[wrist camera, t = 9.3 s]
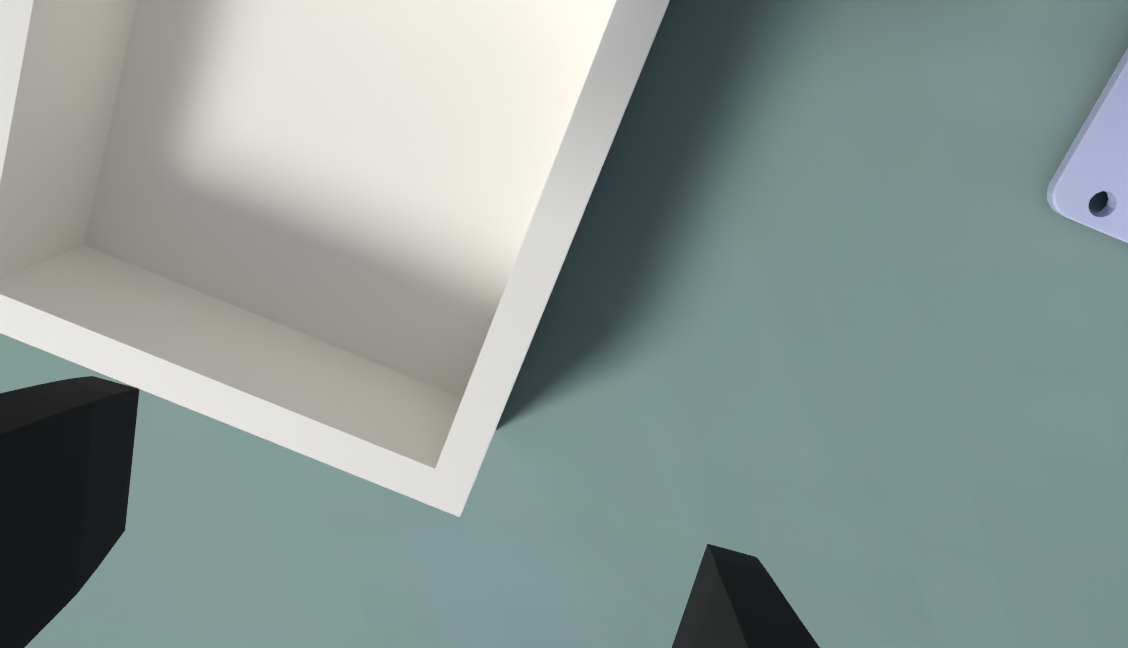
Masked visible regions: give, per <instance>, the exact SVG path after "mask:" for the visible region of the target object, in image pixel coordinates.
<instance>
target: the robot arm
mask: <svg viewBox="0 0 1128 648" xmlns="http://www.w3.org/2000/svg"><path fill="white" fill-rule="evenodd" d="M1101 191H1105V192H1107V196H1108V201H1107V205H1106V206H1105V207H1104V208H1103V209H1102V210H1101V211H1099V212H1096V213H1090V211H1089V207H1088V205H1089V201H1090V199H1091V198H1092V197H1093V196H1094V195H1095V194H1096V193H1099V192H1101ZM1047 201H1048V203H1049V205H1050V206H1051V208H1052V209H1053V210H1054V211H1056V212H1057V213H1059V214H1060V215H1062V216H1064V217H1066V218H1069V219H1071V220H1074V221H1076V222H1078V223H1081V224H1083V225H1086V226H1088V227H1090V228H1093V229H1095V230H1098V231H1100V232H1102V233H1105V234H1107V235H1110V236H1112V237H1114V238H1117V239H1119V240H1122V241H1124V242H1127V243H1128V48H1127V50H1126V51H1125V53H1124V55H1123V57H1122V58H1121V60H1120V62H1119V63H1118V65H1117V67H1116V69H1115V70H1114V72H1113V74H1112V76H1111V77H1110V79H1109V81H1108V83H1107V84H1106V86H1105V88H1104V89H1103V91H1102V93H1101V95H1100V96H1099V98H1098V100H1097V102H1096V103H1095V105H1094V107H1093V109H1092V110H1091V112H1090V114H1089V115H1088V117H1087V119H1086V121H1085V122H1084V124H1083V126H1082V128H1081V129H1080V131H1079V133H1078V135H1077V136H1076V138H1075V140H1074V141H1073V143H1072V145H1071V147H1070V148H1069V150H1068V152H1067V154H1066V155H1065V157H1064V159H1063V161H1062V162H1061V164H1060V166H1059V167H1058V169H1057V171H1056V173H1055V174H1054V176H1053V178H1052V180H1051V181H1050V184H1049V186H1048V189H1047ZM138 397H139V389H137V388H134V387H130V386H126V385H123V384H119V383H115V382H112V381H108V380H104V379H101V378H97V377H93V376H90V377H81V378H73V379H67V380H61V381H56V382H50V383H46V384H41V385H36V386H31V387H27V388H22V389H18V390H14V391H9V392H5V393H0V648H24V647H25V646H26V645H27V644H28V643H29V642H30V641H31V640H32V639H33V638H34V637H35V636H36V635H37V634H38V633H39V632H40V631H41V630H42V629H43V628H44V627H45V626H46V625H47V624H48V623H49V622H50V621H51V620H52V619H53V618H54V617H55V616H56V615H57V614H58V613H59V612H60V611H61V610H62V609H63V608H64V607H65V606H66V605H67V604H68V603H69V602H70V601H71V599H72V598H73V597H74V596H75V595H76V594H77V593H78V592H79V591H80V589H81V588H82V587H83V585H84V584H85V583H86V582H87V580H88V579H89V578H90V577H91V575H92V574H93V573H94V571H95V570H96V569H97V568H98V566H99V565H100V564H101V562H102V561H103V560H104V558H105V557H106V555H107V554H108V553H109V551H110V550H111V549H112V547H113V546H114V544H115V543H116V542H117V540H118V539H119V538H120V536H121V535H122V533H123V532H124V531H125V524H126V515H127V505H128V495H129V485H130V475H131V465H132V456H133V446H134V436H135V426H136V416H137V407H138ZM672 648H820V647H819V646H818V645H817V643H816V642H815V640H814V639H813V638H812V636H811V635H810V633H809V632H808V630H807V629H806V628H805V626H804V625H803V623H802V622H801V620H800V619H799V617H798V616H797V615H796V613H795V612H794V610H793V609H792V607H791V606H790V604H789V603H788V601H787V600H786V598H785V597H784V595H783V594H782V593H781V591H780V590H779V588H778V587H777V585H776V584H775V582H774V581H773V579H772V578H771V576H770V575H769V573H768V572H767V571H766V569H765V568H764V566H763V565H762V564H761V562H760V561H759V560H758V558H757V557H754V556H751V555H747V554H743V553H740V552H736V551H732V550H728V549H725V548H721V547H717V546H714V545H710V544H707V547H706V550H705V553H704V556H703V558H702V561H701V564H700V567H699V570H698V573H697V576H696V579H695V582H694V585H693V588H692V590H691V593H690V596H689V599H688V602H687V605H686V608H685V611H684V614H683V617H682V620H681V622H680V625H679V628H678V631H677V634H676V637H675V640H674V643H673V646H672Z"/></svg>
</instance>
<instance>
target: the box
mask: <svg viewBox="0 0 1128 648" xmlns="http://www.w3.org/2000/svg"><path fill="white" fill-rule="evenodd" d="M669 2H670V0H0V333H2V334H4V335H7V336H9V337H12V338H14V339H17V340H19V341H22V342H24V343H27V344H29V345H32V346H34V347H37V348H39V349H42V350H44V351H47V352H49V353H52V354H54V355H57V356H59V357H62V358H64V359H67V360H69V361H72V362H74V363H77V364H79V365H82V366H84V367H87V368H89V369H92V370H94V371H97V372H99V373H102V374H104V375H107V376H109V377H112V378H114V379H117V380H119V381H122V382H124V383H126V384H129V385H131V386H134V387H136V388H139V389H141V390H144V391H146V392H149V393H151V394H154V395H156V396H159V397H161V398H164V399H166V400H169V401H171V402H174V403H176V404H179V405H181V406H184V407H186V408H189V409H191V410H194V411H196V412H199V413H201V414H204V415H206V416H209V417H211V418H214V419H216V420H219V421H221V422H224V423H226V424H229V425H231V426H234V427H236V428H239V429H241V430H244V431H246V432H249V433H251V434H254V435H256V436H259V437H261V438H264V439H266V440H269V441H271V442H274V443H276V444H279V445H281V446H284V447H286V448H289V449H291V450H294V451H296V452H299V453H301V454H304V455H306V456H309V457H311V458H314V459H316V460H319V461H321V462H324V463H326V464H329V465H331V466H334V467H336V468H339V469H341V470H344V471H346V472H349V473H351V474H354V475H356V476H358V477H361V478H363V479H366V480H368V481H371V482H373V483H376V484H378V485H381V486H383V487H386V488H388V489H391V490H393V491H396V492H398V493H401V494H403V495H406V496H408V497H411V498H413V499H416V500H418V501H421V502H423V503H426V504H428V505H431V506H433V507H436V508H438V509H441V510H443V511H446V512H448V513H451V514H453V515H456V516H458V517H460V515H461V513H462V511H463V508H464V506H465V503H466V501H467V498H468V496H469V494H470V491H471V489H472V486H473V484H474V481H475V479H476V476H477V474H478V472H479V469H480V467H481V464H482V462H483V459H484V457H485V455H486V452H487V450H488V447H489V445H490V442H491V440H492V438H493V435H494V433H495V430H496V428H497V425H498V423H499V420H500V418H501V415H502V413H503V411H504V408H505V406H506V403H507V401H508V398H509V396H510V393H511V391H512V388H513V386H514V383H515V381H516V379H517V376H518V374H519V371H520V369H521V366H522V364H523V361H524V359H525V356H526V354H527V351H528V349H529V347H530V344H531V342H532V339H533V337H534V334H535V332H536V329H537V327H538V324H539V322H540V319H541V317H542V315H543V312H544V310H545V307H546V305H547V302H548V300H549V297H550V295H551V292H552V290H553V287H554V285H555V283H556V280H557V278H558V275H559V273H560V270H561V268H562V265H563V263H564V260H565V258H566V255H567V253H568V251H569V248H570V246H571V243H572V241H573V238H574V236H575V233H576V231H577V228H578V226H579V223H580V221H581V219H582V216H583V214H584V211H585V209H586V206H587V204H588V201H589V199H590V196H591V194H592V191H593V189H594V187H595V184H596V182H597V179H598V177H599V174H600V172H601V169H602V167H603V164H604V162H605V159H606V157H607V155H608V152H609V150H610V147H611V145H612V142H613V140H614V137H615V135H616V132H617V130H618V127H619V125H620V123H621V120H622V118H623V115H624V113H625V110H626V108H627V105H628V103H629V100H630V98H631V95H632V93H633V91H634V88H635V86H636V83H637V81H638V78H639V76H640V73H641V71H642V68H643V66H644V63H645V61H646V59H647V56H648V54H649V51H650V49H651V46H652V44H653V41H654V39H655V36H656V34H657V31H658V29H659V27H660V24H661V22H662V19H663V17H664V14H665V12H666V9H667V7H668V4H669Z"/></svg>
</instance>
